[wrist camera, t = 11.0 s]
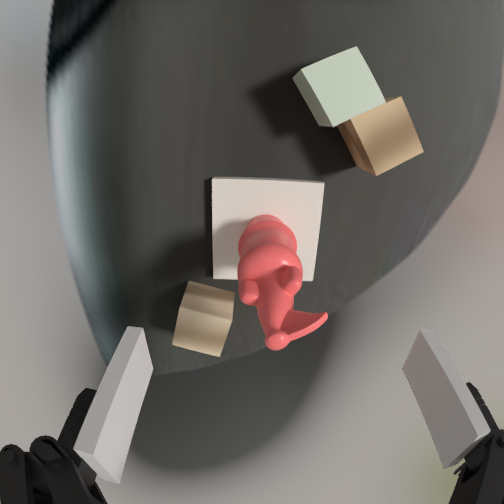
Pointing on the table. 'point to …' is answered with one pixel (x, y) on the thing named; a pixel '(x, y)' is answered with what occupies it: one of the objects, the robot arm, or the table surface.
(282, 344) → the figurine
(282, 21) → the table surface
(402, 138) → the oak block
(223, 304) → the maple block
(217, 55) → the table surface
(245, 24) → the table surface
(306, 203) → the coaster
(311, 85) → the sage block
